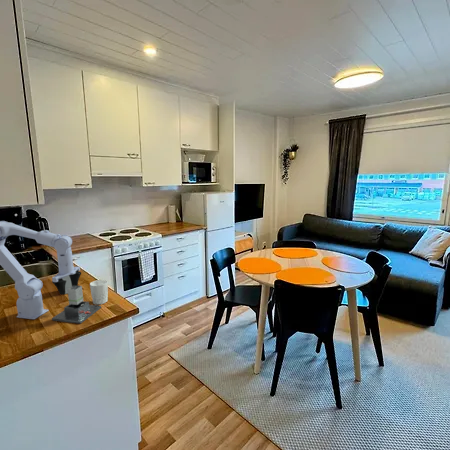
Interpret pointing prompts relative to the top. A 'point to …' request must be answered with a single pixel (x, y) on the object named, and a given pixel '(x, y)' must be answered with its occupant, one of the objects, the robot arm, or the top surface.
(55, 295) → the top surface
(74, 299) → the steel column
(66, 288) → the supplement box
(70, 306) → the gray frame
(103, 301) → the white cup
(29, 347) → the top surface
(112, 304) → the top surface
